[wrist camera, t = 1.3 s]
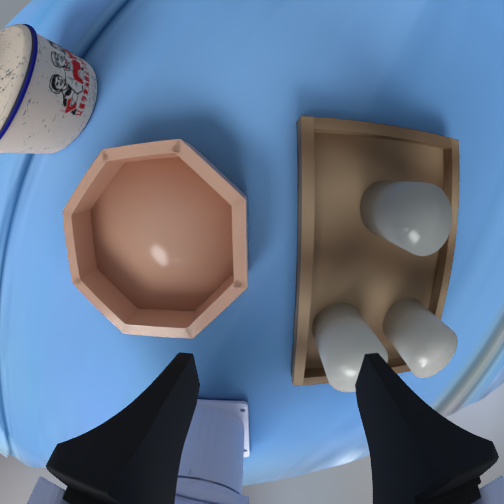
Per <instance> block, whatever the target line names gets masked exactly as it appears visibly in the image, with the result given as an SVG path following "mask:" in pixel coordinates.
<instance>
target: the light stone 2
mask: <svg viewBox="0 0 504 504" xmlns="http://www.w3.org/2000/svg"><path fill="white" fill-rule="evenodd" d="M383 332H384V334H385V336H386V337H387V338H388V340H389V341H390V342H391V344H392V345H393V346H394V348H395V349H396V350H397V352H398V353H399V354H400V356H401V357H402V358H403V360H404V361H405V362H406V364H407V365H408V367H409V368H410V369H411V371H412V372H413V374H414V375H415V376H417V377H419V378H427V377H430V376H433V375H435V374H436V373H438V372H439V371H441V370H442V369H443V368H444V367H445V366H446V365H447V364H448V363H449V361H450V360H451V358H452V357H453V355H454V353H455V351H456V347H457V336H456V334H455V332H453V331H452V330H451V329H450V328H449V327H448V326H447V325H446V324H444V323H443V322H442V321H441V320H440V319H439V318H438V317H436V316H435V315H434V314H433V313H432V312H431V311H429V310H428V309H427V308H426V307H425V306H424V305H422V304H421V303H420V302H419V301H418V300H416V299H414V298H405V299H402V300H399V301H398V302H396V303H395V304H394V305H393V306H392V307H391V308H390V309H389V310H388V312H387V313H386V315H385V317H384V320H383Z"/></svg>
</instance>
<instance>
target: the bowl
mask: <svg viewBox="0 0 504 504" xmlns="http://www.w3.org/2000/svg"><path fill="white" fill-rule="evenodd" d="M63 221H64V231H65V239H66V246H67V253H68V259H69V265H70V271H71V276H72V281H73V284H74V285H75V286H76V288H77V289H78V290H79V291H80V292H81V293H82V294H83V295H84V296H85V297H86V298H87V299H88V300H89V301H90V302H91V303H92V304H93V305H94V306H95V307H96V308H97V309H98V310H99V311H100V312H101V313H102V314H103V315H104V316H105V317H106V318H107V319H108V320H109V321H111V322H112V323H113V324H114V325H115V326H116V327H117V328H118V329H119V330H120V331H121V332H123V333H124V334H133V335H144V336H157V337H172V338H191V339H193V338H194V337H195V336H197V335H198V334H199V333H200V332H201V331H202V330H203V329H204V328H205V327H206V326H207V325H208V324H209V323H211V322H212V321H213V320H214V319H215V318H216V317H217V316H218V315H219V314H220V313H221V312H222V311H223V310H224V309H225V308H227V307H228V306H229V305H230V304H231V303H232V302H233V301H234V300H235V299H236V298H237V297H238V296H239V295H240V294H241V293H242V292H243V291H244V290H246V289H247V286H248V273H249V263H248V206H247V196H246V195H245V194H244V193H243V192H242V191H241V190H240V189H239V188H238V187H237V186H236V185H235V184H233V183H232V182H231V181H230V180H229V179H228V178H227V177H226V176H225V175H224V174H223V173H222V172H221V171H220V170H219V169H218V168H216V167H215V166H214V165H213V164H212V163H211V162H210V161H209V160H208V159H207V158H206V157H205V156H203V155H202V154H201V153H200V152H199V151H198V150H197V149H196V148H195V147H194V146H192V145H191V144H189V143H187V142H185V141H183V140H181V139H173V140H163V141H155V142H147V143H139V144H132V145H126V146H119V147H113V148H108V149H103V150H102V151H101V152H100V154H99V155H98V157H97V158H96V159H95V161H94V162H93V164H92V165H91V167H90V168H89V170H88V171H87V173H86V174H85V176H84V177H83V179H82V180H81V182H80V183H79V185H78V186H77V188H76V190H75V191H74V193H73V194H72V196H71V198H70V199H69V201H68V203H67V205H66V206H65V208H64V210H63Z"/></svg>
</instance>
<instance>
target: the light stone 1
mask: <svg viewBox="0 0 504 504" xmlns="http://www.w3.org/2000/svg"><path fill="white" fill-rule="evenodd" d="M312 334H313V337H314V340H315V343H316V346H317V349H318V352H319V355H320V358H321V361H322V364H323V367H324V370H325V373H326V376H327V379H328V381H329V383H330V385H331V386H332V387H333V388H334V389H336V390H338V391H342V392H355V391H356V389H355V384H356V381H357V378H358V375H359V371H360V368H361V365H362V362H363V359H364V355H365V354H370V353H379V355H380V356H381V357H382V358H383V359H384V360H385V361H386V362H387V363H388V354H387V351H386V349H385V348H384V346H383V345H382V343H381V342H380V341H379V339H378V338H377V336H376V335H375V334H374V332H373V331H372V329H371V328H370V327H369V325H368V324H367V322H366V321H365V320H364V318H363V317H362V315H361V314H360V313H359V311H358V310H357V309H356V308H355V307H354V306H352V305H350V304H347V303H335V304H331V305H329V306H327V307H325V308H324V309H323V310H321V311H320V312H319V313H318V314H317V316H316V317H315V319H314V321H313V324H312Z"/></svg>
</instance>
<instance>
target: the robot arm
mask: <svg viewBox="0 0 504 504" xmlns="http://www.w3.org/2000/svg"><path fill="white" fill-rule="evenodd" d="M199 387H200V383H199V379H198V374H197V370H196V365H195V361H194V356H193V354H189V353H178V354H177V355H176V357H175V358H174V359H173V360H172V361H171V362H170V364H169V365H168V366H167V367H166V368H165V369H164V371H163V372H162V373H161V374H160V375H159V376H158V377H157V378H156V379H155V380H154V381H153V382H152V384H151V385H150V386H149V387H148V388H147V389H146V390H145V391H144V392H142V393H141V394H140V395H139V396H138V397H137V398H136V399H135V400H134V401H133V402H132V403H130V404H129V405H128V406H127V407H126V408H124V409H123V410H122V411H120V412H119V413H118V414H116V415H115V416H113V417H112V418H111V419H109V420H108V421H106V422H104V423H103V424H101V425H100V426H98V427H96V428H94V429H92V430H90V431H88V432H86V433H84V434H82V435H80V436H78V437H75V438H73V439H70V440H68V441H65V442H62V443H59V444H57V446H56V447H55V449H54V451H53V453H52V455H51V457H50V459H49V461H48V463H47V465H46V468H47V470H49V472H50V473H51V474H53V475H54V476H55V477H56V478H58V479H59V480H60V481H61V482H63V483H64V484H65V485H67V486H68V487H67V489H66V491H65V490H64V489H62V488H61V487H59V486H57V485H55V484H53V483H52V482H50V481H48V480H47V479H45V478H43V477H39V479H38V481H37V483H36V485H35V487H34V489H33V492H32V494H31V496H30V498H29V501H28V503H27V504H249V497H248V496H244V495H242V480H243V457H248V456H250V443H249V416H248V403H247V402H245V401H224V400H203V399H198V393H199ZM355 389H356V396H357V403H358V408H359V412H360V415H361V419H362V423H363V427H364V430H365V434H366V438H367V442H368V446H369V451H370V458H371V468H372V480H373V481H372V482H373V504H504V478H503V476H500V477H499V478H497V479H495V480H494V481H492V482H490V483H489V484H487V485H485V486H484V487H482V488H480V489H479V488H478V484H480V483H481V480H480V477H479V476H480V475H482V474H483V473H484V472H485V471H487V470H488V469H489V468H490V467H491V466H493V464H495V462H496V461H497V460H498V457H499V456H498V453H497V451H496V449H495V446H494V444H493V442H492V441H489V440H487V439H484V438H482V437H479V436H476V435H474V434H472V433H470V432H468V431H466V430H464V429H462V428H460V427H459V426H457V425H455V424H454V423H452V422H451V421H449V420H447V419H446V418H444V417H443V416H442V415H440V414H439V413H437V412H436V411H435V410H434V409H432V408H431V407H430V406H429V405H427V404H426V403H425V402H424V401H423V400H422V399H421V398H420V397H419V396H417V395H416V394H415V393H414V392H413V391H412V390H411V389H410V388H409V387H408V386H407V385H406V383H405V382H404V381H403V380H402V379H401V378H400V377H399V376H398V375H397V374H396V373H395V371H394V370H393V369H392V368H391V367H390V366H389V365H388V364H387V362H386V361H385V360H384V359H383V358H382V357H381V356H380V355H379V353H370V354H365V355H364V359H363V362H362V365H361V368H360V371H359V375H358V378H357V381H356V384H355Z"/></svg>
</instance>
